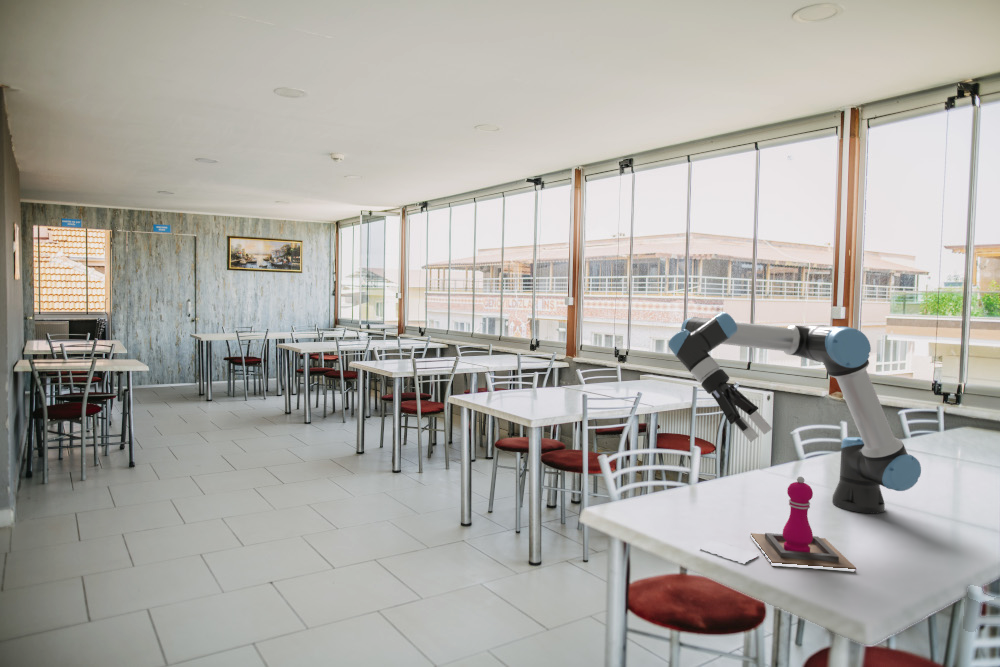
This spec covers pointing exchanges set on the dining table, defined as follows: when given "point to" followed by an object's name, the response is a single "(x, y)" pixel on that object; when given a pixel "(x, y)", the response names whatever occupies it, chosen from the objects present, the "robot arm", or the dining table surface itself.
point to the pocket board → (818, 555)
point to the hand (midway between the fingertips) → (762, 435)
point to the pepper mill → (798, 518)
